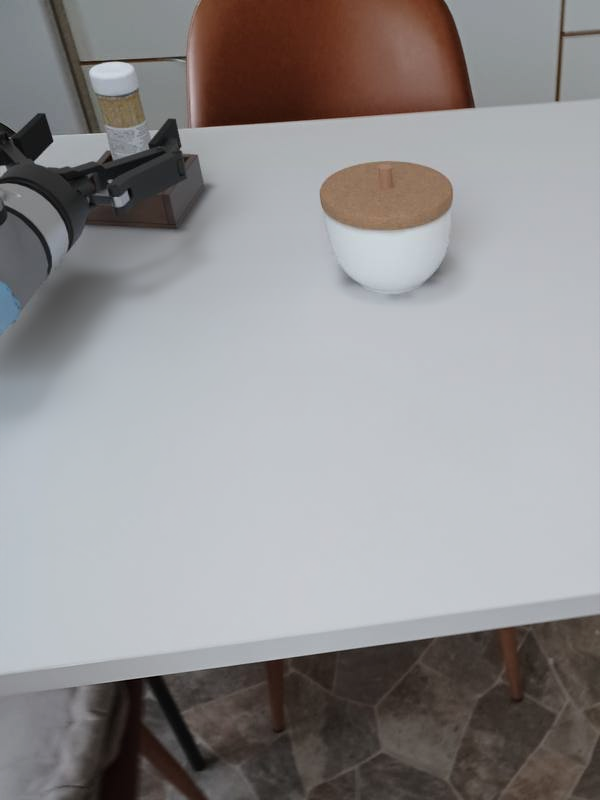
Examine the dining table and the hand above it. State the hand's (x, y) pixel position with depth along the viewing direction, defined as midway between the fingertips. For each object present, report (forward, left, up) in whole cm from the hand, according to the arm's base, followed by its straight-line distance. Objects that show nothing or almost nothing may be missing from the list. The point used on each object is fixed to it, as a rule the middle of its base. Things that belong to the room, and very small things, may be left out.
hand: (110, 129), depth 99 cm
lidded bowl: (+30, -10, -10) cm, 33 cm away
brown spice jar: (0, +3, -9) cm, 10 cm away
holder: (0, +3, -9) cm, 10 cm away
